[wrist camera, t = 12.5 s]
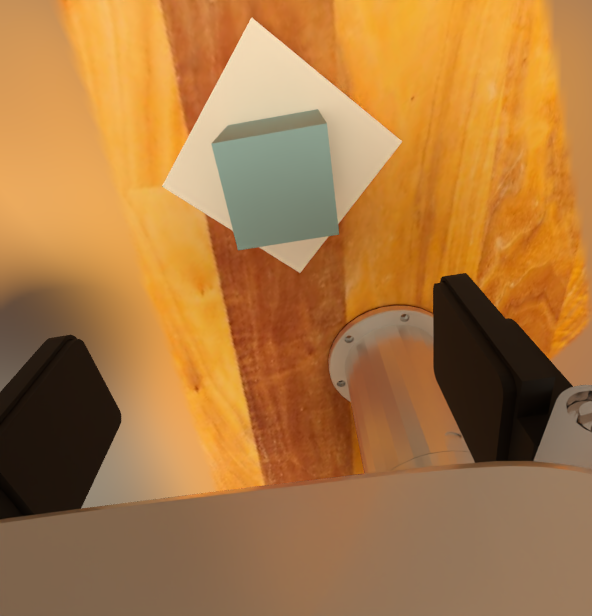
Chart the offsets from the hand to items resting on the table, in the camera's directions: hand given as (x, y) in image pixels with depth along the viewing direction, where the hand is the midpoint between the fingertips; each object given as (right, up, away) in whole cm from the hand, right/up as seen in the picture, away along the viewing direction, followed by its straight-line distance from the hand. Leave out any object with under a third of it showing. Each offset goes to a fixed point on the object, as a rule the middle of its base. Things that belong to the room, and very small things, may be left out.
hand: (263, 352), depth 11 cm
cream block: (0, +13, +21) cm, 25 cm away
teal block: (0, +11, +18) cm, 21 cm away
